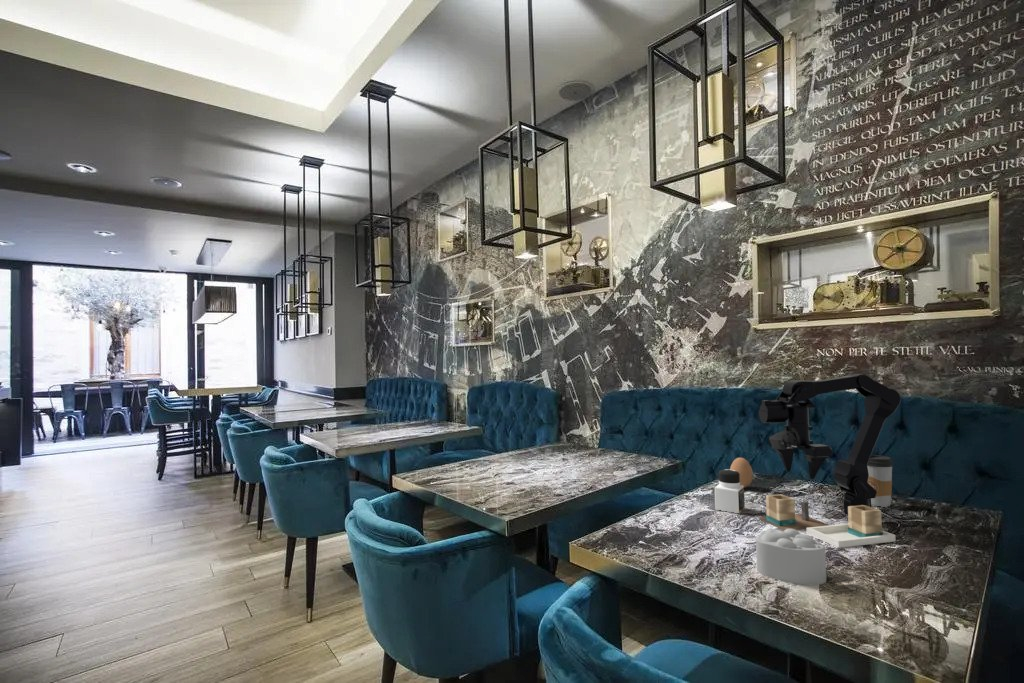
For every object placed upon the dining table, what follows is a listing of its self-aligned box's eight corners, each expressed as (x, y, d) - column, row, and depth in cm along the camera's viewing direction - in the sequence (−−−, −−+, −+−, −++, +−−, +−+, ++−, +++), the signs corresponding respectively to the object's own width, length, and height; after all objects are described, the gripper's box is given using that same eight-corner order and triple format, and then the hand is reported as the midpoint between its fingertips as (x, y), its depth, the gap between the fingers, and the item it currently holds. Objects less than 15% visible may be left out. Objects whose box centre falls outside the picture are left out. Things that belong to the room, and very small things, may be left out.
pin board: (801, 517, 145) (800, 496, 145) (829, 528, 135) (828, 506, 136) (759, 521, 142) (758, 500, 143) (785, 533, 133) (784, 510, 133)
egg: (736, 483, 183) (735, 454, 184) (757, 487, 178) (756, 457, 178) (726, 487, 178) (725, 457, 179) (747, 491, 173) (746, 460, 173)
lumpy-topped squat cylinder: (764, 558, 117) (763, 521, 117) (829, 572, 109) (827, 533, 109) (754, 574, 109) (752, 534, 109) (823, 590, 100) (821, 547, 101)
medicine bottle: (739, 514, 149) (738, 474, 149) (714, 510, 153) (713, 471, 154) (744, 508, 155) (743, 469, 155) (721, 504, 159) (719, 467, 159)
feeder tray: (860, 530, 134) (859, 522, 134) (895, 543, 124) (895, 535, 124) (806, 535, 130) (806, 527, 131) (838, 550, 121) (838, 541, 121)
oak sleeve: (782, 518, 141) (781, 494, 141) (796, 524, 136) (795, 499, 136) (766, 520, 140) (765, 495, 140) (779, 526, 135) (778, 500, 135)
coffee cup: (856, 503, 158) (854, 456, 158) (871, 499, 161) (869, 453, 162) (884, 510, 150) (882, 460, 151) (900, 506, 154) (898, 458, 154)
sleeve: (864, 531, 131) (863, 504, 132) (882, 538, 126) (881, 510, 126) (848, 532, 130) (847, 506, 131) (866, 539, 125) (864, 512, 125)
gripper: (753, 420, 155) (754, 470, 154) (798, 428, 137) (800, 484, 136) (783, 418, 157) (785, 467, 157) (832, 426, 139) (834, 482, 138)
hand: (799, 475), depth 147 cm, fingers open, 9 cm apart
